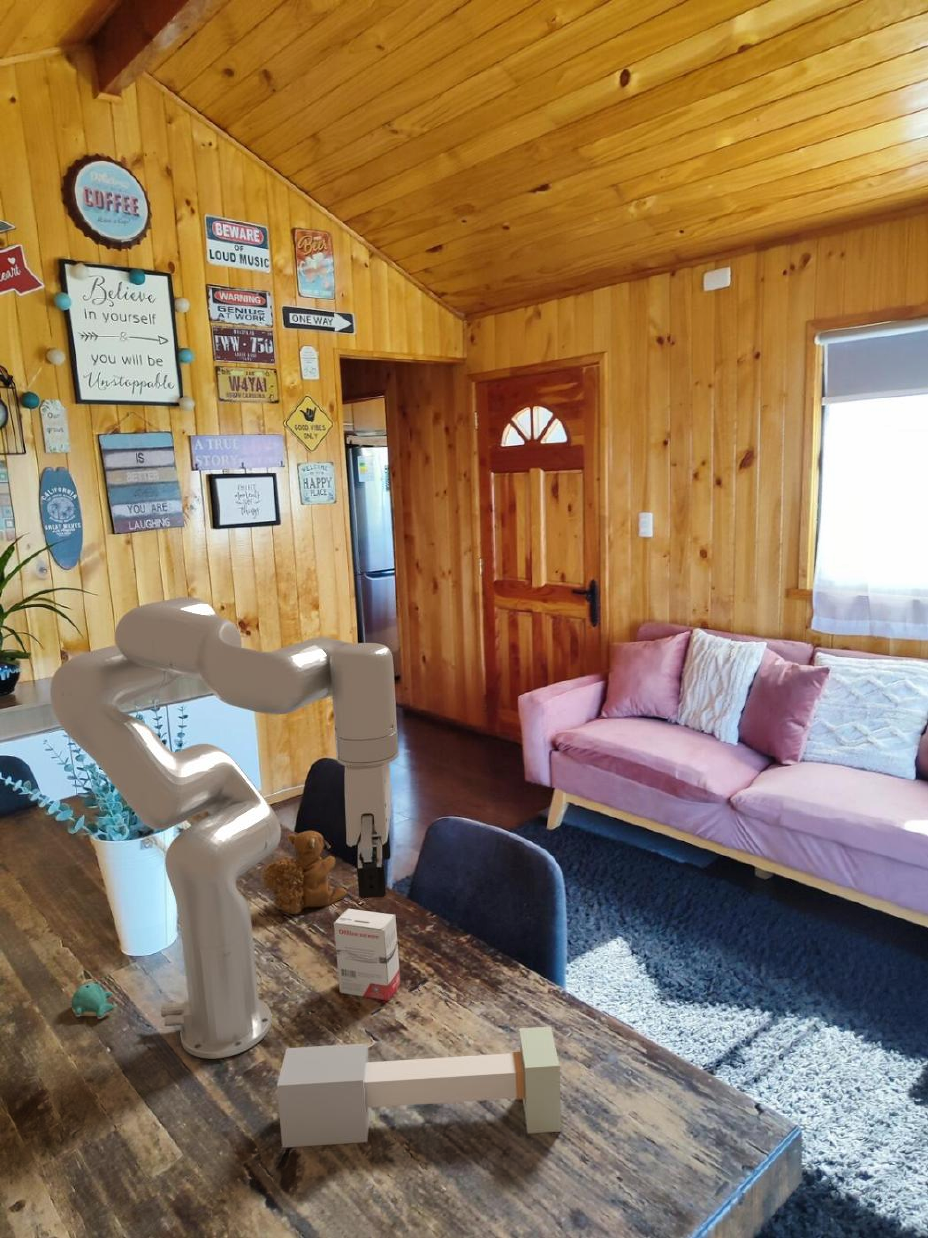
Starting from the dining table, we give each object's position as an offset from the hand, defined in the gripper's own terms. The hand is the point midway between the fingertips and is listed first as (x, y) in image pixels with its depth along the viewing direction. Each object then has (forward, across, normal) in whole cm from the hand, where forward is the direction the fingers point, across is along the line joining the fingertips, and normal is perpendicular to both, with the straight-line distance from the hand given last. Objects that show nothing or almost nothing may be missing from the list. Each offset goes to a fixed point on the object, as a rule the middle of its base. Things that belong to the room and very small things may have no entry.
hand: (375, 877), depth 102 cm
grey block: (+28, +7, -7) cm, 30 cm away
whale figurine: (+29, -18, -46) cm, 57 cm away
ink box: (+28, -20, -4) cm, 35 cm away
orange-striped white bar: (+25, +7, +8) cm, 27 cm away
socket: (+28, +7, +19) cm, 35 cm away
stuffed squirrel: (+29, -48, -18) cm, 59 cm away
